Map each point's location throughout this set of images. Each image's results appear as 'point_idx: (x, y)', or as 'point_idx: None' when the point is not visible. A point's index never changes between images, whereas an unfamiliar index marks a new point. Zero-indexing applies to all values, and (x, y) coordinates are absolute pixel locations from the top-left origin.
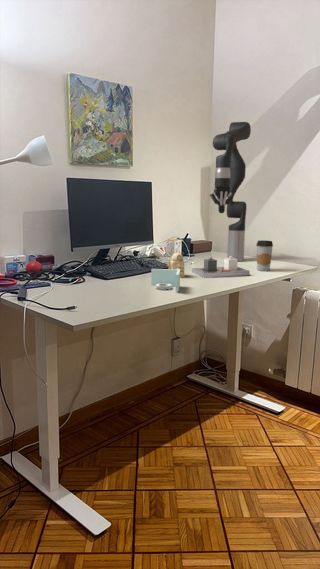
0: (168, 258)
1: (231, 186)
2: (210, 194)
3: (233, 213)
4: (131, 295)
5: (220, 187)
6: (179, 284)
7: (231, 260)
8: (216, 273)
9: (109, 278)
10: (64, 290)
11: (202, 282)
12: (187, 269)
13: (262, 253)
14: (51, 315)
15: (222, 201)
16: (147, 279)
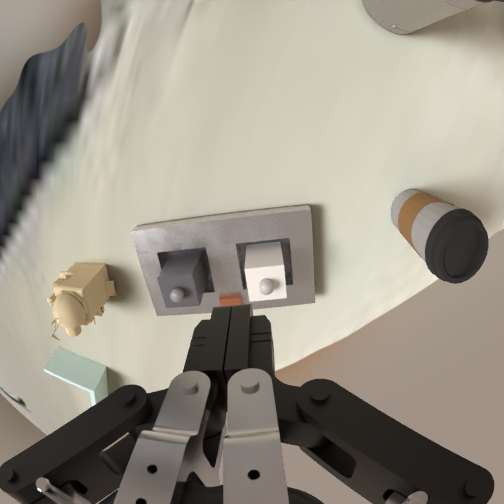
0: (48, 302)
1: None
2: (13, 490)
3: None
4: (51, 386)
5: None
6: (104, 378)
7: (260, 298)
8: (197, 311)
9: None
10: None
11: (152, 346)
12: (136, 142)
13: (419, 255)
14: (21, 412)
15: (247, 431)
16: (39, 287)
